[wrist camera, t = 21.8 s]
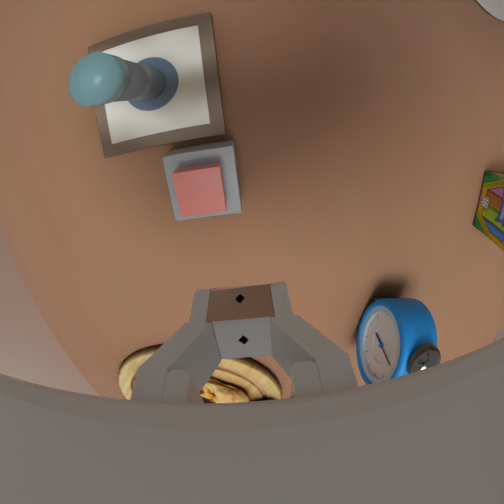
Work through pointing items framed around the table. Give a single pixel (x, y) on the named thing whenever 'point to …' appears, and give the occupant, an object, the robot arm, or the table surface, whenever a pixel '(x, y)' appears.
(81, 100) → the joystick
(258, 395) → the wooden plate with food
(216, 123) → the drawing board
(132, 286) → the table surface
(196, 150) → the button box
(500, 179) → the chalk box
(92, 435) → the robot arm
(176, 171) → the button
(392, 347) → the alarm clock
